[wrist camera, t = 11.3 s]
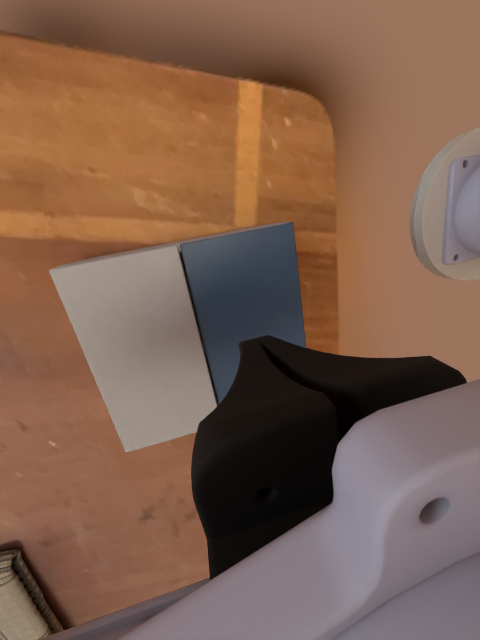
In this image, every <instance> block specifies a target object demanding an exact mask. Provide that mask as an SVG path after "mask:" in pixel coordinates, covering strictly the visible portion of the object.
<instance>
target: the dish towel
mask: <svg viewBox="0 0 480 640" xmlns="http://www.w3.org/2000/svg"><path fill="white" fill-rule="evenodd" d="M61 631H64V629H63V627H62V626H61V624H60V623H59V621H58V620H57V618H56V616H55V615H54V613H53V612H52V610H51V609H50V607H49V606H48V604H47V602H46V601H45V599H44V597H43V594H42V591H41V590H40V588H39V586H38V584H37V583H36V581H35V579H34V578H33V575H32V574H31V572H30V571H29V569H28V568H27V566H26V564H25V562H24V560H23V559H22V556H21V551H20V550H18V549H14V550H9V551H2V552H0V640H39V639H42V638H45V637H47V636H50V635H53V634H56V633H58V632H61Z"/></svg>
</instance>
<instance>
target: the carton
mask: <svg viewBox="0 0 480 640" xmlns="http://www.w3.org/2000/svg"><path fill="white" fill-rule="evenodd" d="M285 223H289V222H280V223H269V224H263V225H257V226H252V227H247V228H242V229H237V230H232V231H227V232H221V233H216V234H211V235H206V236H201V237H196V238H190V239H185V240H180V241H175V242H170V243H165V244H159V245H154V246H149V247H144V248H139V249H134V250H129V251H123V252H118V253H113V254H108V255H103V256H98V257H92V258H87V259H83V260H79V261H75V262H72V263H68V264H65V265H61V266H57V267H55V269H51V270H49V272H50V274H51V276H52V279H53V281H54V283H55V286H56V288H57V291H58V293H59V295H60V298H61V300H62V302H63V305H64V307H65V309H66V312H67V314H68V317H69V319H70V321H71V324H72V326H73V328H74V331H75V333H76V336H77V338H78V340H79V343H80V345H81V347H82V350H83V352H84V354H85V357H86V359H87V362H88V364H89V366H90V369H91V371H92V373H93V376H94V378H95V381H96V383H97V385H98V388H99V390H100V392H101V395H102V397H103V399H104V402H105V404H106V407H107V409H108V411H109V414H110V416H111V418H112V421H113V423H114V426H115V428H116V430H117V433H118V435H119V437H120V440H121V442H122V445H123V447H124V449H125V452H130V451H133V450H137V449H140V448H144V447H147V446H150V445H154V444H157V443H161V442H164V441H168V440H171V439H175V438H178V437H182V436H185V435H188V434H192V433H195V432H197V429H198V425H199V423H200V421H202V420H203V419H204V418H205V417H206V416H207V415H209V414H210V413H211V412H212V411H213V410H214V409H215V408H216V407H217V406H218V405H219V402H218V398H217V394H216V390H215V386H214V382H213V378H212V373H211V369H210V365H209V361H208V357H207V353H206V349H205V345H204V341H203V337H202V333H201V329H200V325H199V321H198V317H197V313H196V309H195V305H194V301H193V296H192V292H191V288H190V284H189V280H188V276H187V272H186V268H185V264H184V260H183V256H182V252H181V248H180V244H183V243H188V242H193V241H198V240H203V239H208V238H213V237H219V236H224V235H229V234H234V233H239V232H244V231H249V230H255V229H260V228H265V227H270V226H275V225H280V224H285Z"/></svg>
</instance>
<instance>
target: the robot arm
mask: <svg viewBox="0 0 480 640" xmlns="http://www.w3.org/2000/svg"><path fill="white" fill-rule="evenodd" d="M462 164H463V167H462ZM454 256H455V257H454ZM453 258H454V259H453ZM477 258H480V154H479V155H473V156H467V157H462V158H457V159H454V160H453V161H452V162H451V164H450V167H449V180H448V192H447V205H446V217H445V230H444V243H443V255H442V262H443V264H445V265H451V264H456V263H460V262H464V261H468V260H472V259H477ZM239 350H240V362H239V366H238V370H237V373H236V376H235V379H234V381H233V383H232V385H231V387H230V389H229V391H228V393H227V394H226V396H225V397H224V399H223V400H222V401H221V403H220V404H219V405H218V406H217V407H216V408H215V409H214V410H213V411H212V412H211V413H210V414H209V415H207V416H206V417H205V418H204V419H203V420H202V421H200V423H199V425H198V429H197V433H196V437H195V443H194V448H193V455H192V465H191V478H192V492H193V499H194V503H195V505H196V508H197V511H198V514H199V517H200V520H201V523H202V526H203V529H204V532H205V535H206V538H207V545H208V558H209V571H210V578H208V579H205V580H202V581H199V582H196V583H194V584H191V585H188V586H185V587H183V588H180V589H177V590H174V591H172V592H169V593H166V594H163V595H161V596H158V597H155V598H152V599H150V600H147V601H144V602H141V603H138V604H136V605H133V606H130V607H127V608H125V609H122V610H119V611H116V612H114V613H111V614H108V615H105V616H103V617H100V618H97V619H94V620H92V621H89V622H86V623H83V624H81V625H78V626H75V627H72V628H69V629H67V630H64V631H61V632H58V633H56V634H53V635H50V636H47V637H45V638H42V639H39V640H480V379H478V380H475V381H472V382H469V383H467V382H466V379H465V378H464V376H463V375H462V374H461V373H460V372H459V371H458V370H456V369H454V368H452V367H450V366H448V365H447V364H445V363H443V362H441V361H439V360H437V359H435V358H433V357H431V356H421V357H405V358H361V357H351V356H342V355H335V354H330V353H324V352H319V351H315V350H312V349H308V348H304V347H301V346H298V345H295V344H292V343H289V342H287V341H284V340H281V339H279V338H276V337H273V336H270V335H265V336H262V337H258V338H254V339H250V340H246V341H242V342H240V343H239Z"/></svg>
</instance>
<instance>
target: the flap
mask: <svg viewBox="0 0 480 640" xmlns="http://www.w3.org/2000/svg"><path fill="white" fill-rule="evenodd" d="M180 248H181V252H182V256H183V260H184V264H185V268H186V272H187V276H188V280H189V284H190V288H191V292H192V296H193V301H194V305H195V309H196V313H197V317H198V321H199V325H200V329H201V333H202V337H203V341H204V345H205V349H206V353H207V357H208V361H209V365H210V369H211V373H212V378H213V382H214V386H215V390H216V394H217V398H218V402H219V404H220V403H221V401H222V400H223V399H224V397H225V396H226V394H227V393H228V391H229V389H230V387H231V385H232V383H233V381H234V379H235V376H236V373H237V370H238V366H239V362H240V350H239V343H240V342H242V341H246V340H250V339H254V338H258V337H262V336H265V335H270V336H273V337H276V338H279V339H281V340H284V341H287V342H289V343H292V344H295V345H298V346H301V347H304V348H306V342H305V333H304V323H303V313H302V304H301V294H300V284H299V275H298V265H297V255H296V246H295V236H294V226H293V222H291V223H285V224H280V225H275V226H270V227H265V228H260V229H255V230H249V231H244V232H239V233H234V234H229V235H224V236H219V237H213V238H208V239H203V240H198V241H193V242H188V243H183V244H180Z"/></svg>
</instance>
